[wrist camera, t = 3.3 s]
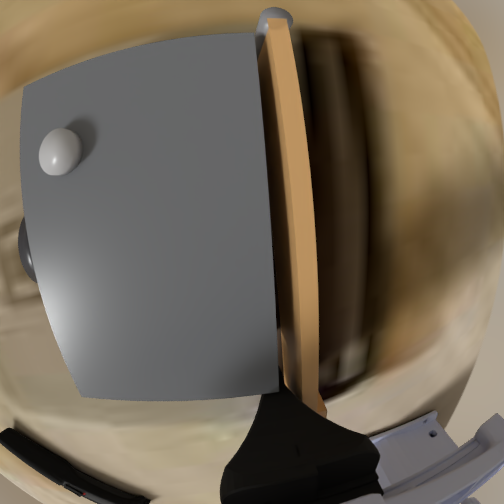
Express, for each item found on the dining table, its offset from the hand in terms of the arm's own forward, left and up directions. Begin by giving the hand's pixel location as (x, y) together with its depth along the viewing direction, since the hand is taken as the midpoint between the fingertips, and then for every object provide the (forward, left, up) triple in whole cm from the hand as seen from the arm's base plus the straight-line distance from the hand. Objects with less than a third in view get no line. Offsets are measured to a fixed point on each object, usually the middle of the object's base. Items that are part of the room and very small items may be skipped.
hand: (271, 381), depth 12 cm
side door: (-1, -7, -1) cm, 7 cm away
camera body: (+4, -8, -1) cm, 9 cm away
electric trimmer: (+18, +13, -2) cm, 23 cm away
